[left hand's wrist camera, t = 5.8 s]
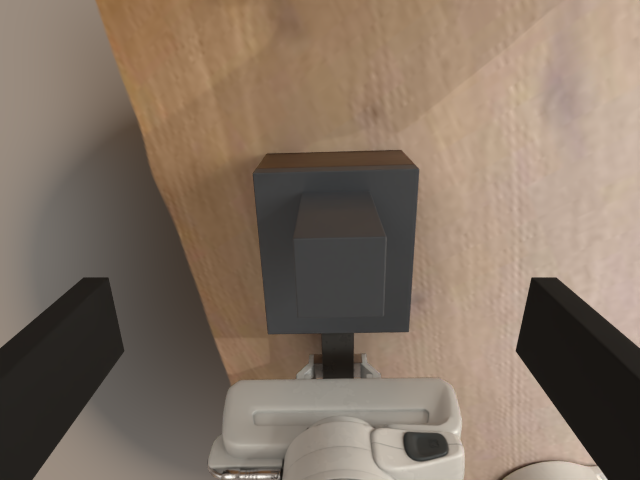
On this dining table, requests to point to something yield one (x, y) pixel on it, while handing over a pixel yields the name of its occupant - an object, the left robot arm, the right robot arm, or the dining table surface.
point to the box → (336, 344)
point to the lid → (337, 247)
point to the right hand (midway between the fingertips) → (337, 358)
